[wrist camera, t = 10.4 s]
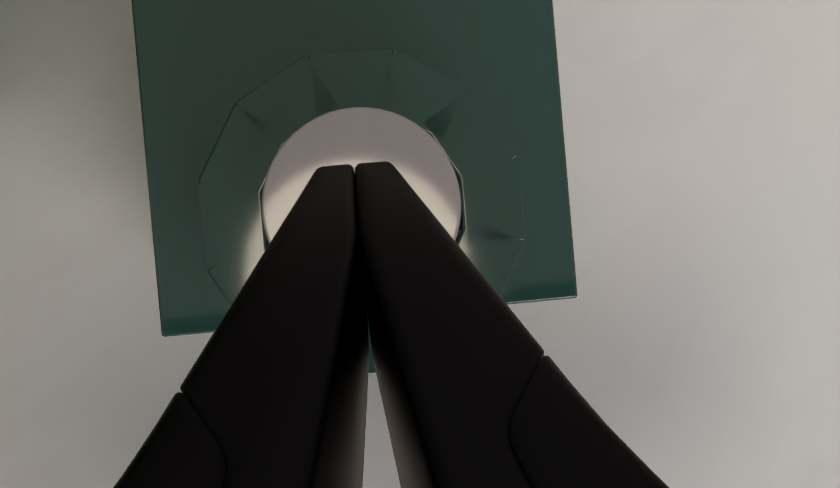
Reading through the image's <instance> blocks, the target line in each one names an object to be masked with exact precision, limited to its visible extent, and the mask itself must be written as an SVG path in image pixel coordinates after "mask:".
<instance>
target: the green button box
mask: <svg viewBox="0 0 840 488" xmlns="http://www.w3.org/2000/svg"><path fill="white" fill-rule="evenodd" d="M131 1H132V12H133V23H134V34H135V45H136V56H137V67H138V78H139V89H140V100H141V111H142V122H143V134H144V145H145V156H146V167H147V178H148V189H149V200H150V211H151V222H152V233H153V244H154V255H155V266H156V277H157V288H158V299H159V310H160V321H161V332H162V336H164V337H167V336H178V335H188V334H199V333H209V332H215V330H216V329H217V327H218V325H219V324H220V322H221V321H222V319H223V317H224V316H225V314H226V313H227V311H228V309H229V308H230V306H231V305H232V303H233V301H234V300H235V298H236V297H237V295H238V293H239V292H240V290H241V289H242V287H243V285H244V284H245V282H246V281H247V279H248V277H249V276H250V274H251V273H252V271H253V269H254V268H255V266H256V265H257V263H258V261H259V260H260V258H261V257H262V255H263V253H264V252H265V250H266V249H267V247H268V245H269V243H268V240H267V237H266V234H265V230H264V226H263V219H262V193H263V186H264V182H265V178H266V175H267V172H268V170H269V167H270V165H271V163H272V161H273V159H274V157H275V155H276V154H277V152H278V151H279V149H280V148H281V147H282V145H283V144H284V143H285V141H286V140H287V139H288V138H289V137H290V136H291V135H292V134H293V133H294V132H295V131H297V130H298V129H299V128H300V127H302V126H303V125H304V124H306V123H308V122H309V121H311V120H313V119H314V118H316V117H318V116H321V115H323V114H325V113H328V112H331V111H335V110H339V109H344V108H351V107H371V108H379V109H383V110H387V111H391V112H394V113H396V114H399V115H401V116H404V117H406V118H408V119H409V120H411V121H413V122H415V123H416V124H418V125H419V126H420V127H422V128H423V129H424V130H426V131H427V132H428V133H429V134H430V135H431V136H432V137H433V138H434V139H435V140H436V141H437V142H438V144H439V145H440V146H441V147H442V149H443V150H444V152H445V153H446V155H447V157H448V158H449V160H450V162H451V164H452V166H453V169H454V171H455V173H456V177H457V180H458V184H459V189H460V195H461V218H460V225H459V229H458V234H457V237H456V240H455V242H456V243H457V244H458V245H459V247H460V248H461V249H462V250H463V252H464V253H465V254H466V255H467V256H468V258H469V259H470V260H471V261H472V263H473V264H474V265H475V266H476V268H477V269H478V270H479V271H480V272H481V274H482V275H483V276H484V277H485V279H486V280H487V281H488V282H489V284H490V285H491V286H492V287H493V288H494V290H495V291H496V292H497V293H498V295H499V296H500V297H501V298H502V300H503V301H504V302H505V303H506V304H516V303H527V302H537V301H548V300H559V299H569V298H576V297H577V285H576V273H575V262H574V250H573V238H572V226H571V214H570V203H569V191H568V179H567V167H566V156H565V144H564V132H563V120H562V108H561V97H560V85H559V73H558V61H557V50H556V38H555V26H554V14H553V2H552V0H131ZM367 316H368V315H367ZM368 329H369V324H368ZM374 372H376V369H375V364H374V359H373V354H372V348H371V341H370V333H369V370H368V373H374Z"/></svg>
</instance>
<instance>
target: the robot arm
mask: <svg viewBox="0 0 840 488" xmlns="http://www.w3.org/2000/svg"><path fill="white" fill-rule="evenodd" d="M367 315H368V316H367ZM368 324H369V329H368ZM369 333H370V341H371V348H372V354H373V359H374V364H375V369H376V374H377V378H378V383H379V388H380V392H381V397H382V401H383V406H384V411H385V415H386V420H387V425H388V429H389V434H390V438H391V443H392V448H393V452H394V457H395V462H396V466H397V471H398V475H399V480H400V485H401V488H669V487H668V486H667V485H666V484H665V483H664V482H663V481H662V480H661V479H660V478H659V477H658V476H657V475H656V474H655V473H654V472H653V471H652V470H651V469H650V468H649V467H648V466H647V465H646V464H645V463H644V462H643V461H642V460H641V459H640V458H639V457H638V456H637V455H636V454H635V453H634V452H633V451H632V450H631V449H630V448H629V447H628V446H627V445H626V444H625V443H624V442H623V441H622V440H621V439H620V438H619V437H618V436H617V435H616V434H615V433H614V432H613V431H612V430H611V428H610V427H609V426H608V425H607V424H606V423H605V422H604V421H603V420H602V419H601V418H600V416H599V415H598V414H597V413H596V412H595V411H594V409H593V408H592V407H591V406H590V405H589V404H588V403H587V401H586V400H585V399H584V398H583V397H582V396H581V394H580V393H579V392H578V391H577V390H576V389H575V388H574V386H573V385H572V384H571V383H570V382H569V380H568V379H567V378H566V377H565V375H564V374H563V373H562V372H561V371H560V369H559V368H558V367H557V366H556V364H555V363H554V362H553V361H552V359H551V358H550V357H549V356H543V355H544V350H543V349H542V348H541V346H540V345H539V344H538V343H537V341H536V340H535V339H534V338H533V337H532V335H531V334H530V333H529V332H528V330H527V329H526V328H525V327H524V325H523V324H522V323H521V322H520V320H519V319H518V318H517V317H516V316H515V314H514V313H513V312H512V311H511V309H510V308H509V307H508V306H507V304H506V303H505V302H504V301H503V300H502V298H501V297H500V296H499V295H498V293H497V292H496V291H495V290H494V288H493V287H492V286H491V285H490V284H489V282H488V281H487V280H486V279H485V277H484V276H483V275H482V274H481V272H480V271H479V270H478V269H477V268H476V266H475V265H474V264H473V263H472V261H471V260H470V259H469V258H468V256H467V255H466V254H465V253H464V252H463V250H462V249H461V248H460V247H459V245H458V244H457V243H456V242H455V240H454V239H453V238H452V237H451V236H450V234H449V233H448V232H447V231H446V229H445V228H444V227H443V226H442V224H441V223H440V222H439V221H438V220H437V218H436V217H435V216H434V215H433V213H432V212H431V211H430V210H429V208H428V207H427V206H426V205H425V203H424V202H423V201H422V200H421V199H420V197H419V196H418V195H417V194H416V192H415V191H414V190H413V189H412V187H411V186H410V185H409V184H408V183H407V181H406V180H405V179H404V178H403V176H402V175H401V174H400V173H399V171H398V170H397V169H396V168H395V167H394V165H393V164H392V163H390V162H388V161H381V162H369V163H359V164H358V165H356V167H355V171H354V168H353V167H352V166H351V165H349V164H343V165H331V166H321V167H319V168H317V169H316V170H315V172H314V173H313V175H312V177H311V178H310V180H309V181H308V183H307V185H306V186H305V188H304V189H303V191H302V193H301V194H300V196H299V197H298V199H297V201H296V202H295V204H294V205H293V207H292V209H291V210H290V212H289V213H288V215H287V217H286V218H285V220H284V221H283V223H282V225H281V226H280V228H279V229H278V231H277V233H276V234H275V236H274V237H273V239H272V241H271V242H270V244H269V245H268V247H267V249H266V250H265V252H264V253H263V255H262V257H261V258H260V260H259V261H258V263H257V265H256V266H255V268H254V269H253V271H252V273H251V274H250V276H249V277H248V279H247V281H246V282H245V284H244V285H243V287H242V289H241V290H240V292H239V293H238V295H237V297H236V298H235V300H234V301H233V303H232V305H231V306H230V308H229V309H228V311H227V313H226V314H225V316H224V317H223V319H222V321H221V322H220V324H219V325H218V327H217V329H216V330H215V332H214V333H213V335H212V337H211V338H210V340H209V341H208V343H207V345H206V346H205V348H204V349H203V351H202V353H201V354H200V356H199V357H198V359H197V361H196V362H195V364H194V365H193V367H192V369H191V370H190V372H189V373H188V375H187V377H186V378H185V380H184V381H183V383H182V385H181V387H180V390H181V392H182V393H181V392H178V393H176V394H175V395H174V397H173V398H172V400H171V402H170V403H169V405H168V406H167V408H166V410H165V411H164V413H163V414H162V416H161V418H160V419H159V421H158V423H157V424H156V426H155V427H154V429H153V430H152V432H151V433H150V435H149V436H148V438H147V439H146V441H145V442H144V444H143V445H142V447H141V448H140V450H139V451H138V453H137V454H136V456H135V457H134V459H133V460H132V462H131V463H130V465H129V466H128V468H127V469H126V471H125V472H124V474H123V475H122V477H121V478H120V479H119V481H118V482H117V483H116V485H115V486H114V487H113V488H362V484H363V465H364V446H365V427H366V408H367V389H368V370H369Z"/></svg>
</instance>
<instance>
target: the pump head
mask: <svg viewBox="0 0 840 488" xmlns="http://www.w3.org/2000/svg"><path fill="white" fill-rule="evenodd" d="M381 161H388V162H390V163H392V164H393V165H394V167H395V168H396V169H397V170H398V171H399V173H400V174H401V175H402V176H403V178H404V179H405V180H406V181H407V183H408V184H409V185H410V186H411V187H412V189H413V190H414V191H415V192H416V194H417V195H418V196H419V197H420V199H421V200H422V201H423V202H424V203H425V205H426V206H427V207H428V208H429V210H430V211H431V212H432V213H433V215H434V216H435V217H436V218H437V220H438V221H439V222H440V223H441V224H442V226H443V227H444V228H445V229H446V231H447V232H448V233H449V234H450V236H451V237H452V238H453V239H454V240H456V237H457V234H458V229H459V225H460V218H461V195H460V189H459V184H458V180H457V177H456V173H455V171H454V169H453V166H452V164H451V162H450V160H449V158H448V157H447V155H446V153H445V152H444V150H443V149H442V147H441V146H440V145H439V144H438V142H437V141H436V140H435V139H434V138H433V137H432V136H431V135H430V134H429V133H428V132H427V131H426V130H424V129H423V128H422V127H420V126H419V125H418V124H416V123H415V122H413V121H411V120H409V119H408V118H406V117H404V116H401V115H399V114H396V113H394V112H391V111H387V110H383V109H379V108H371V107H351V108H344V109H339V110H335V111H331V112H328V113H325V114H323V115H321V116H318V117H316V118H314V119H313V120H311V121H309V122H308V123H306V124H304V125H303V126H302V127H300V128H299V129H298V130H297V131H295V132H294V133H293V134H292V135H291V136H290V137H289V138H288V139H287V140H286V141H285V143H284V144H283V145H282V147H281V148H280V149H279V151H278V152H277V154H276V155H275V157H274V159H273V161H272V163H271V165H270V167H269V170H268V172H267V175H266V178H265V182H264V186H263V193H262V219H263V226H264V230H265V234H266V237H267V240H268V243H269V244H270V242H271V241H272V239H273V237H274V236H275V234H276V233H277V231H278V229H279V228H280V226H281V225H282V223H283V221H284V220H285V218H286V217H287V215H288V213H289V212H290V210H291V209H292V207H293V205H294V204H295V202H296V201H297V199H298V197H299V196H300V194H301V193H302V191H303V189H304V188H305V186H306V185H307V183H308V181H309V180H310V178H311V177H312V175H313V173H314V172H315V170H316V169H317V168H319V167H321V166H331V165H343V164H349V165H351V166H352V167H353V168H354V171H355V167H356V165H358V164H359V163H369V162H381Z"/></svg>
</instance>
